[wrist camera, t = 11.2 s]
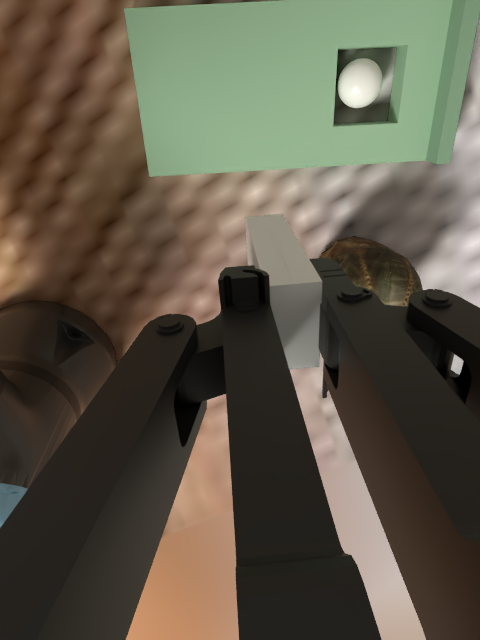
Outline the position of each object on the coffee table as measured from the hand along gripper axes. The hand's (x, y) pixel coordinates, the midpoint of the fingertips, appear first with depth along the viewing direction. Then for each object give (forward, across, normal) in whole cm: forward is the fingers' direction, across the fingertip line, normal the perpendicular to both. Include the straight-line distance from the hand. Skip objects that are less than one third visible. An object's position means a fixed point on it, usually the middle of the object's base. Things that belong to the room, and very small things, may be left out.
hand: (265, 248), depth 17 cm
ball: (+23, +11, +5) cm, 26 cm away
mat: (+25, +6, +5) cm, 26 cm away
